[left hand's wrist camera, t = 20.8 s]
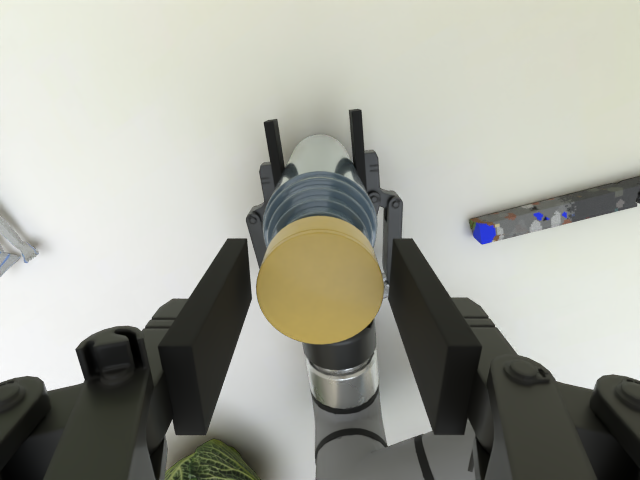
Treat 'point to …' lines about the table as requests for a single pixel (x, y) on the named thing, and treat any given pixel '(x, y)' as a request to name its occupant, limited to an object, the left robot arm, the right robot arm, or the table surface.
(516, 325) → the table surface
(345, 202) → the bottle
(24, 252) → the toy
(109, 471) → the left robot arm
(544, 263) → the table surface
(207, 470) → the vegetable
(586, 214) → the pillar
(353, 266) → the cap
